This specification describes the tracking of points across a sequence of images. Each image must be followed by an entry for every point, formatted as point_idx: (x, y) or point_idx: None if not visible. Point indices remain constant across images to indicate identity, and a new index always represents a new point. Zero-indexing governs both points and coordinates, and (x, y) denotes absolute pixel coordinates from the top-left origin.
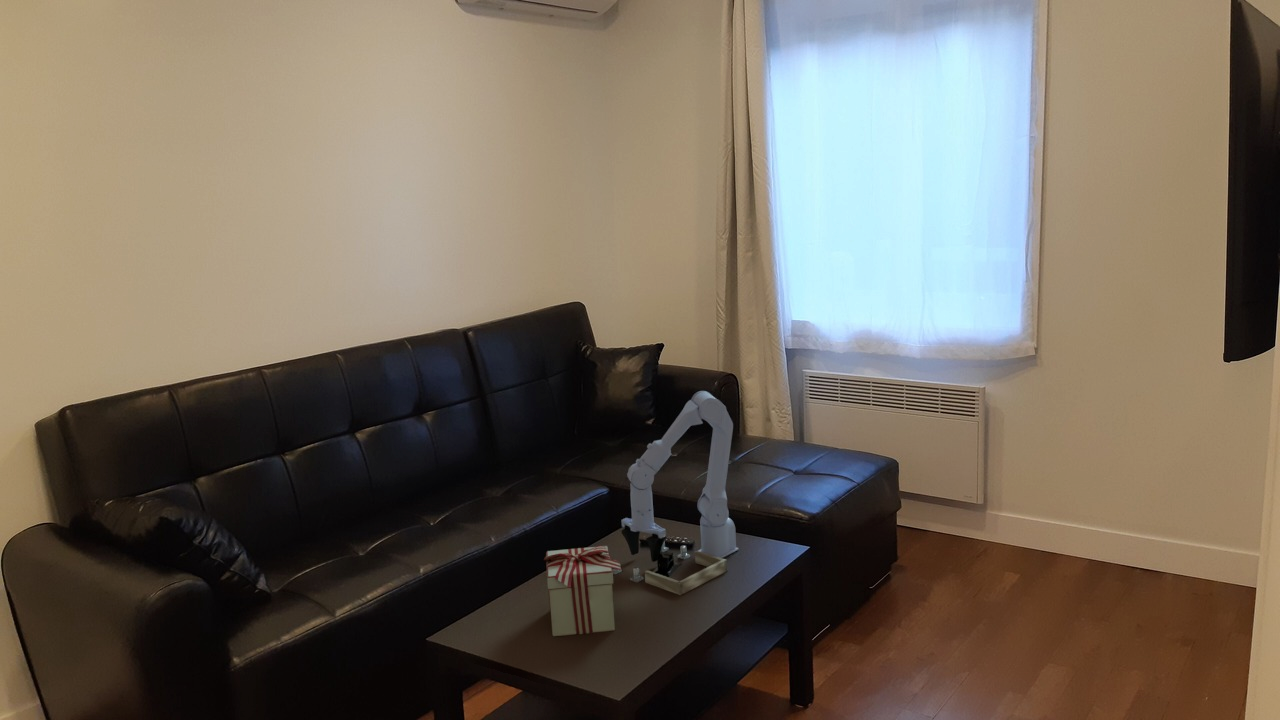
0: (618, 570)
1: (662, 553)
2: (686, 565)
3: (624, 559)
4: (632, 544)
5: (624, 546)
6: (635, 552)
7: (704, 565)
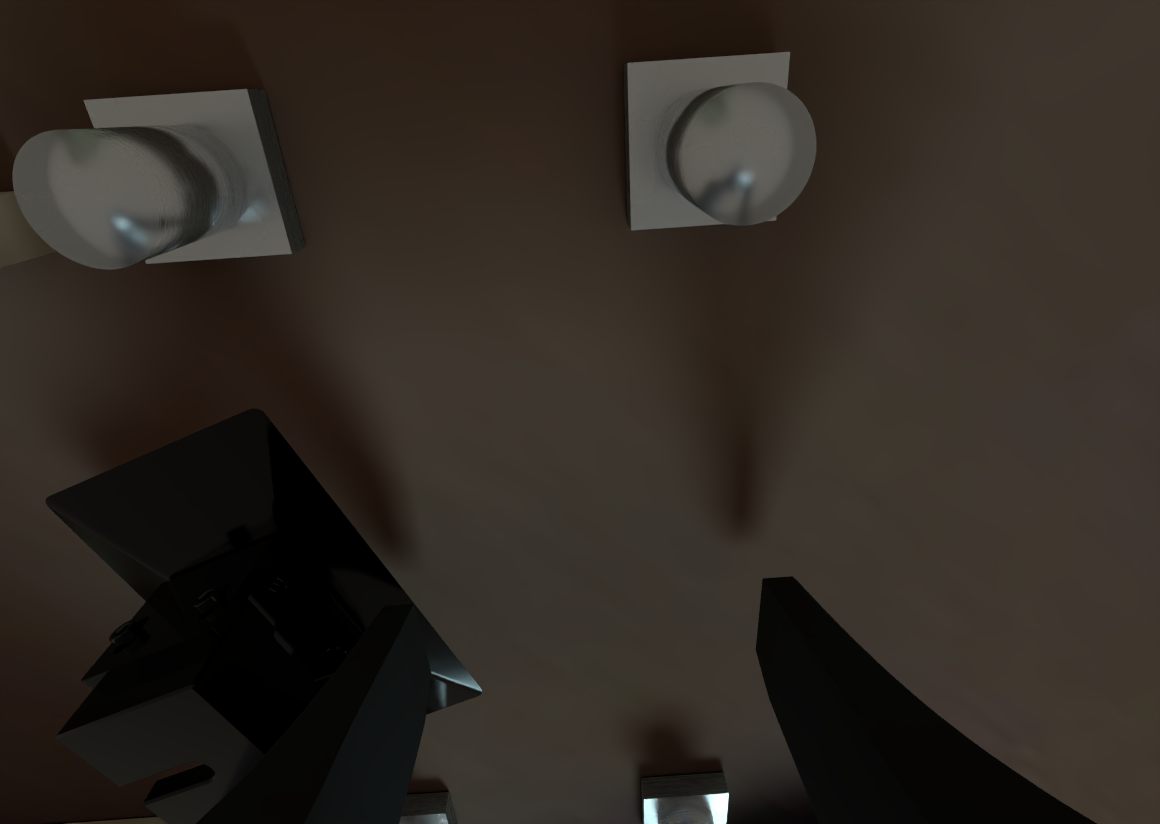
0: (637, 165)
1: None
2: None
3: (866, 492)
4: (828, 716)
5: (1072, 674)
6: (765, 630)
7: (130, 820)
